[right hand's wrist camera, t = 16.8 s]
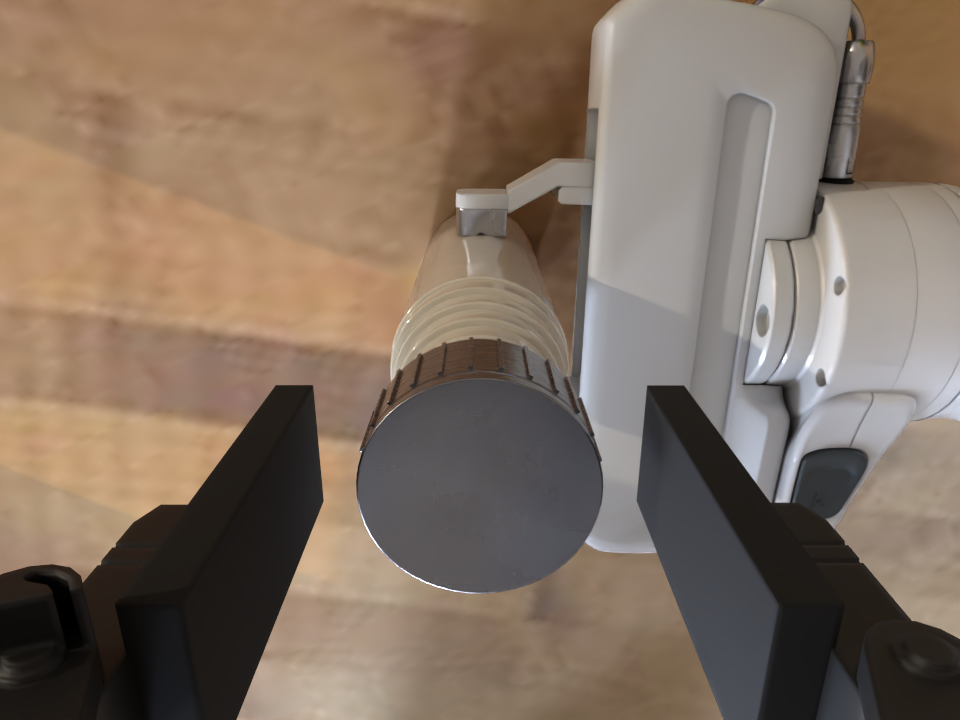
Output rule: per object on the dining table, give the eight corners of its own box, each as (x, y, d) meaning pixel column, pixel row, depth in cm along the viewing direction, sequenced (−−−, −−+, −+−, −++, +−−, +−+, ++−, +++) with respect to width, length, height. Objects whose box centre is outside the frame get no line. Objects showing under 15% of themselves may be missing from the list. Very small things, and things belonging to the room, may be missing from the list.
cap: (516, 292, 13) (523, 325, 11) (626, 469, 15) (650, 528, 13) (327, 405, 14) (302, 456, 12) (447, 563, 16) (442, 632, 14)
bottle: (544, 300, 32) (629, 555, 14) (442, 325, 32) (394, 606, 14) (519, 195, 30) (580, 328, 12) (413, 223, 30) (315, 393, 12)
